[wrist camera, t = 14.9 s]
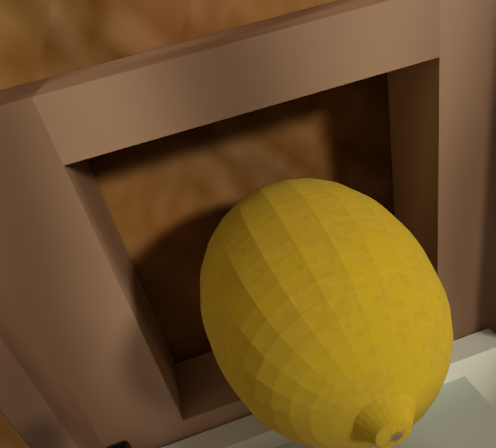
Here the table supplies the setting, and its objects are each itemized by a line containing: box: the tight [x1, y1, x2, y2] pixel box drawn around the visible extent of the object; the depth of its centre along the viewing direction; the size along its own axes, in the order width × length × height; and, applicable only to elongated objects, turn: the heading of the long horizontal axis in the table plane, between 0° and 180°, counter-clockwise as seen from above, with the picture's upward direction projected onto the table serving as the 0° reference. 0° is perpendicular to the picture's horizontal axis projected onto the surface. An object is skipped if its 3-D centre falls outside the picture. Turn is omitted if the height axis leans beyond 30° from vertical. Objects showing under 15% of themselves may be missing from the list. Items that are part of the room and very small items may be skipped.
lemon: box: [200, 178, 454, 448], centre depth 11 cm, size 6×6×8 cm
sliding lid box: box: [0, 0, 496, 448], centre depth 15 cm, size 16×20×4 cm
